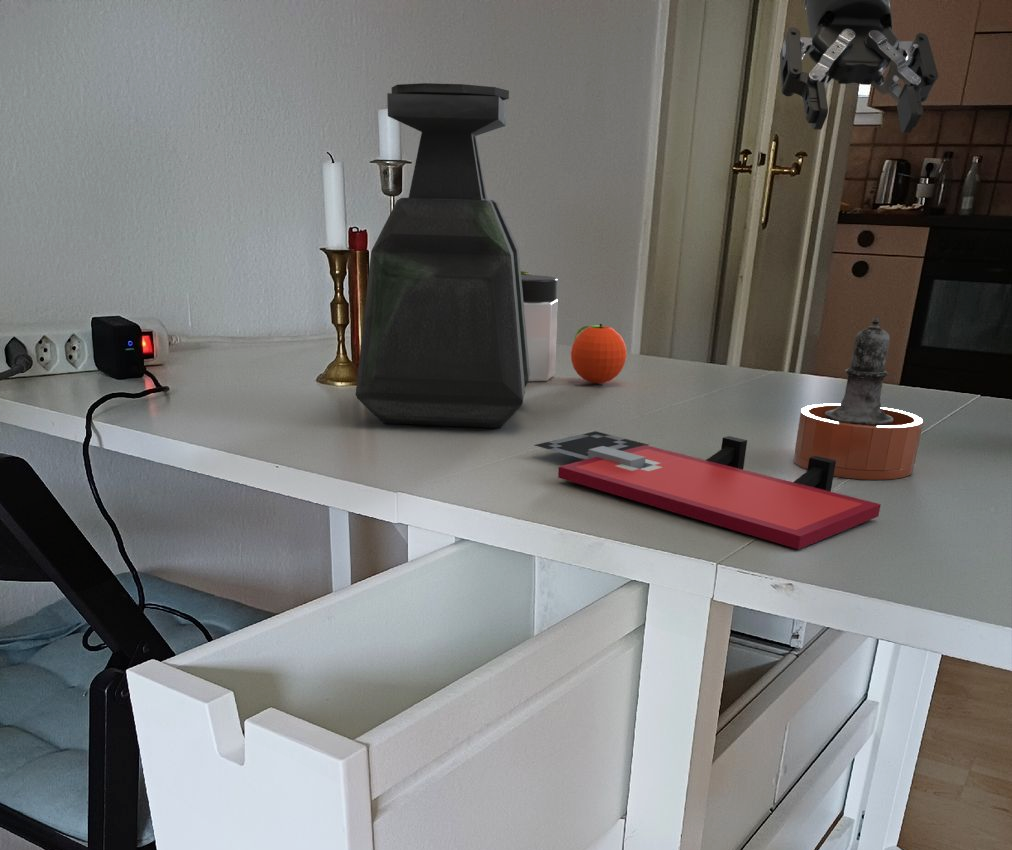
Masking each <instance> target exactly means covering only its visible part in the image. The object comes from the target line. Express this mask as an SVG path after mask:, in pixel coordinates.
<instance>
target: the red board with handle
mask: <svg viewBox="0 0 1012 850" xmlns="http://www.w3.org/2000/svg"><path fill="white" fill-rule="evenodd" d="M747 445H748V439H743V438H739V437H735V436H732V435H731V436H730V435H727V436H724V437H722V440H721V449H719V451H717V452H715V453H713V454H712V455H711V456H709V457H708V458H706V459H702V458H700V457H699V458H698V457H695V456H690V455H687V454H684V453H680V452H679V453H678V452H674V451H670V450H667V449H663V448H660V447H656V446H655V447H654V446H651V445H649V443H644V442H640V441H636V440H632V439H629V438H624V437H619V436H616V435H612V434H608V433H604V432H600V431H591V432H590V431H589V432H586V433H582V434H577V435H573V436H569V437H564V438H559V439H555V440H550V441H546V442H541V443H536V444H533V446H534V447H538V448H541V449H546V450H549V451H552V452H557V453H561V454H563V455H567V456H570V457H574V458H578V459H582V460H580V461H575V462H571V463H568V464H567V463H566V464H563V465H560V466H558V475H557V478H558V479H560V480H564V481H568V482H571V483H574V484H578V485H581V486H585V487H588V488H590V489H594V490H598V491H600V492H601V491H602V492H605V493H608V494H612V495H614V496H618V497H622V498H625V499H628V500H632V501H633V502H634V501H635V502H638V503H640V504H641V503H642V504H645V505H648V506H652V507H655V508H658V509H661V510H665V511H668V512H671V513H674V514H678V515H682V516H685V517H688V518H692V519H695V520H698V521H702V522H705V523H709V524H712V525H715V526H718V527H722V528H725V529H729V530H732V531H734V532H739V533H741V534H746V535H749V536H751V537H756V538H758V539H762V540H766V541H769V542H772V543H776V544H778V545H782V546H785V547H788V548H792V549H796V550H800V549H803V548H805V547H808V546H810V545H814V544H815V543H817V542H820V541H823V540H825V539H827V538H830V537H832V536H834V535H836V534H839V533H842V532H843V531H847V530H849V529H851V528H853V527H856V526H859V525H861V524H864V523H866V522H868V521H871V520H873V519H875V518H878V517H879V516H880V511H881V505H882V504H881V503H877V502H874V501H869V500H865V499H863V498H862V499H861V498H857V497H853V496H851V495H850V496H849V495H846V494H841V493H838V492H833V491H832V486H833V481H834V477H835V476H834V470H835V465H836V460H831V459H827V458H823V457H818V456H813V457H810V458H809V463H808V469H806V472H804V473H803V474H801V475H800V476H799V477H798V478H796V479H795V480H793V481H791V480H786V479H782V478H778V477H775V476H770V475H766V474H762V473H758V472H754V471H749V470H746V469H744V468H745V461H746V460H745V459H746V452H747Z"/></svg>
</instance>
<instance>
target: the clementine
mask: <svg viewBox="0 0 1012 850" xmlns="http://www.w3.org/2000/svg"><path fill="white" fill-rule="evenodd" d="M627 356H628V355H627V346H626V343H625V341H624V339H623V337H622V335H621V334H620V333H619V332H617V331H616V330H615V328H613V327H610V326H606V325H605V326H604V325H603V323H599V325H598V324H597V325H596V324H594V325H585V326H582V327H580V328H579V329H578V330H577V332H576V333H575V335H574V338H573V344H572V346H571V351H570V359H571V364H572V367H573V369H574V371H575V372H576V373H577V375H578V376H579V377H580V378H581V379H583V380H584V381H587V382H588V383H590V384H604V383H605V384H606V383H608V382H610V381H612V380H613V379H615V378H616V377H618V375H620V373H621V371H622V370H623V368H624V366H625V364H626V360H627Z"/></svg>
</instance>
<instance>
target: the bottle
mask: <svg viewBox="0 0 1012 850" xmlns="http://www.w3.org/2000/svg"><path fill="white" fill-rule="evenodd" d="M386 95H387V96H386V97H387V99H386V100H387V102H386V103H387V117H388V118H390V119H393V120H395V121H397V122H400V123H401V124H404V125H406V126H408V127H410V128H412V129H414V130H416V131H418V132H421V134H420V139H419V144H418V148H417V153H416V154H417V155H416V158H415V164H414V169H413V174H412V178H411V183H410V188H409V193H408V197H401V198H398V199H397V200H396V201H395V204H394V206H393V208H392V209H391V211H390V214H389V215H388V217H387V220H386V221H385V223H384V225H383V227H382V229H381V231H380V233H379V235H378V237H377V239H376V241H375V243H374V245H373V247H372V248H371V251H370V259H369V269H368V277H367V285H366V286H367V287H366V295H365V303H364V304H365V305H364V313H363V322H362V330H361V331H362V332H361V341H360V349H359V350H360V351H359V358H358V359H359V360H358V367H357V377H356V386H355V397H356V399H357V400H358V401H359V402H360V403H361V404H362V405H363V406H364V407H365V408H366V409H367V410H369V412H370V413H372V414H373V415H374V416H375V417H376V418H377V419H378V420H379V421H380V422H381V423H383V424H391V425H393V424H394V425H413V426H415V425H417V426H441V427H463V428H484V429H485V428H489V429H501V428H502V427H503V426H504V425H505V424H506V423H507V422H508V421H509V420H510V418H512V416H513V415H514V414H515V413H516V412H517V411H518V410H519V409H520V408H521V407H522V405H523V402H524V398H525V395H526V387H527V386H528V385H529V384H528V383H529V382H528V380H529V376H530V366H529V355H528V344H527V334H526V323H525V312H524V301H523V291H522V280H521V271H522V269H521V260H520V248H519V247H518V245H517V242H516V240H515V238H514V235H513V233H512V231H511V229H510V227H509V225H508V223H507V221H506V218H505V215H504V214H503V211H502V209H501V207H500V205H499V203H498V201H496V200H494V199H488V195H487V189H486V185H485V179H484V173H483V168H482V162H481V157H480V156H481V155H480V151H479V145H478V141H477V136H480V135H482V134H486V133H489V132H491V131H495V130H497V129H501V128H504V127H506V126H507V104H506V103H505V102H504V101H506V100H509V98H510V91H509V89H508V90H507V89H504V88H500V87H496V86H488V85H486V86H485V85H475V84H467V83H466V84H465V83H433V82H432V83H431V82H427V83H426V82H422V83H403V84H396V85H394V86H391V93H390V92H389V93H387V94H386Z"/></svg>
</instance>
